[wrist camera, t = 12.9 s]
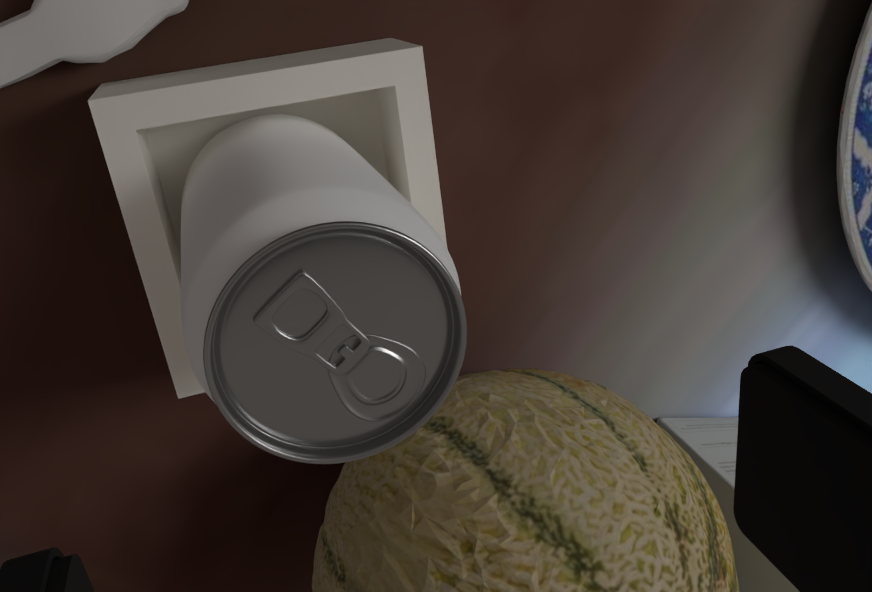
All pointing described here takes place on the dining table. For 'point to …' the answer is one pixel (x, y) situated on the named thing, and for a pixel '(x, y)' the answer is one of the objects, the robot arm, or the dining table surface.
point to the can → (313, 294)
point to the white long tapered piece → (76, 32)
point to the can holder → (241, 99)
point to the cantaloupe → (526, 500)
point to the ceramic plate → (857, 154)
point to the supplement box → (726, 493)
